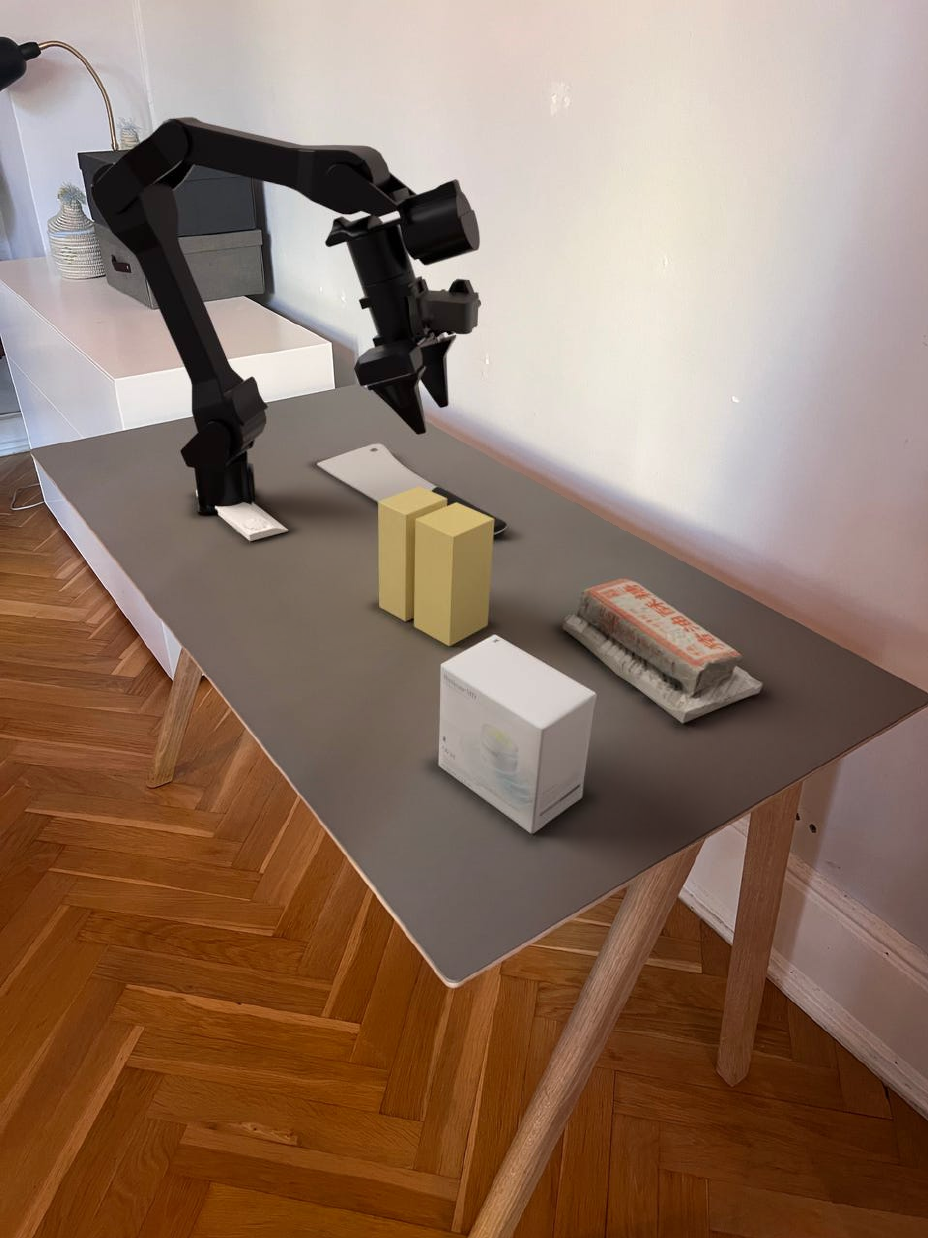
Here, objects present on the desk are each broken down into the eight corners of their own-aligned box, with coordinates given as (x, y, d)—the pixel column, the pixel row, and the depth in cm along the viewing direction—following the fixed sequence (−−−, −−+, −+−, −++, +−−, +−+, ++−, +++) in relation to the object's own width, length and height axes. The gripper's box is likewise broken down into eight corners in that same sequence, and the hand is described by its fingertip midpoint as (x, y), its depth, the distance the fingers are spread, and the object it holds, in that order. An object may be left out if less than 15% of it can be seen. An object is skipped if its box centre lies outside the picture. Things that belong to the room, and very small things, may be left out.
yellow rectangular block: (378, 607, 95) (377, 501, 88) (417, 588, 98) (419, 485, 92) (405, 622, 92) (406, 514, 86) (444, 602, 96) (447, 498, 90)
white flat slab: (233, 487, 118) (232, 479, 118) (288, 532, 108) (287, 523, 108) (196, 495, 115) (195, 487, 115) (248, 542, 106) (248, 533, 105)
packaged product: (563, 588, 90) (639, 566, 94) (558, 629, 92) (633, 606, 97) (692, 683, 77) (773, 651, 82) (682, 728, 79) (761, 695, 84)
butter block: (413, 626, 92) (415, 518, 85) (452, 607, 95) (456, 501, 89) (449, 646, 89) (453, 536, 82) (487, 625, 92) (494, 518, 86)
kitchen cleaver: (315, 458, 125) (376, 436, 130) (317, 469, 126) (377, 447, 131) (451, 546, 105) (518, 517, 109) (452, 559, 106) (518, 529, 110)
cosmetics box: (434, 768, 74) (437, 661, 68) (489, 734, 78) (496, 631, 72) (530, 838, 68) (542, 727, 62) (585, 798, 71) (601, 690, 66)
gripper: (433, 273, 84) (481, 432, 91) (479, 241, 100) (517, 378, 107) (328, 305, 88) (382, 455, 95) (388, 269, 104) (431, 400, 110)
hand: (433, 419), depth 102 cm, fingers open, 9 cm apart
